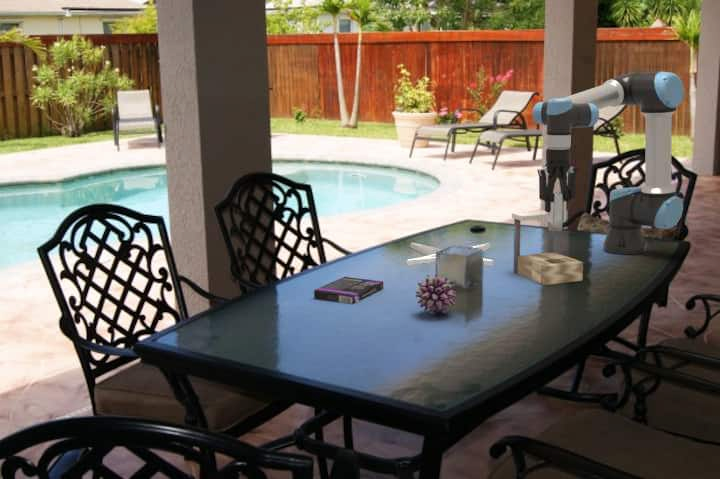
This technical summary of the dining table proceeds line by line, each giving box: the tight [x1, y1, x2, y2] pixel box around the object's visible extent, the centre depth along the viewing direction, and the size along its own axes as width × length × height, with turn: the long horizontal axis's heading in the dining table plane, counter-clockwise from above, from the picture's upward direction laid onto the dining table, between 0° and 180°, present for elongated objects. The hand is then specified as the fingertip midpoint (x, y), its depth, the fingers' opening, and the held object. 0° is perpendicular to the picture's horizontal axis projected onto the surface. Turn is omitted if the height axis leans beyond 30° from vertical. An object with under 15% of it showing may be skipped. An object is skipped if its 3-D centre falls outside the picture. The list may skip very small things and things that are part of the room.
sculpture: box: [406, 242, 494, 267], centre depth 337 cm, size 30×3×30 cm
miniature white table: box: [511, 209, 555, 274], centre depth 309 cm, size 16×6×20 cm, turn 110°
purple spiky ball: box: [415, 272, 458, 315], centre depth 263 cm, size 12×12×12 cm
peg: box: [549, 191, 563, 232], centre depth 296 cm, size 4×4×12 cm
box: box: [313, 276, 384, 305], centre depth 288 cm, size 14×4×20 cm
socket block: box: [517, 251, 584, 286], centre depth 303 cm, size 14×17×6 cm
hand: (556, 221), depth 297 cm, fingers closed on peg, 4 cm apart
